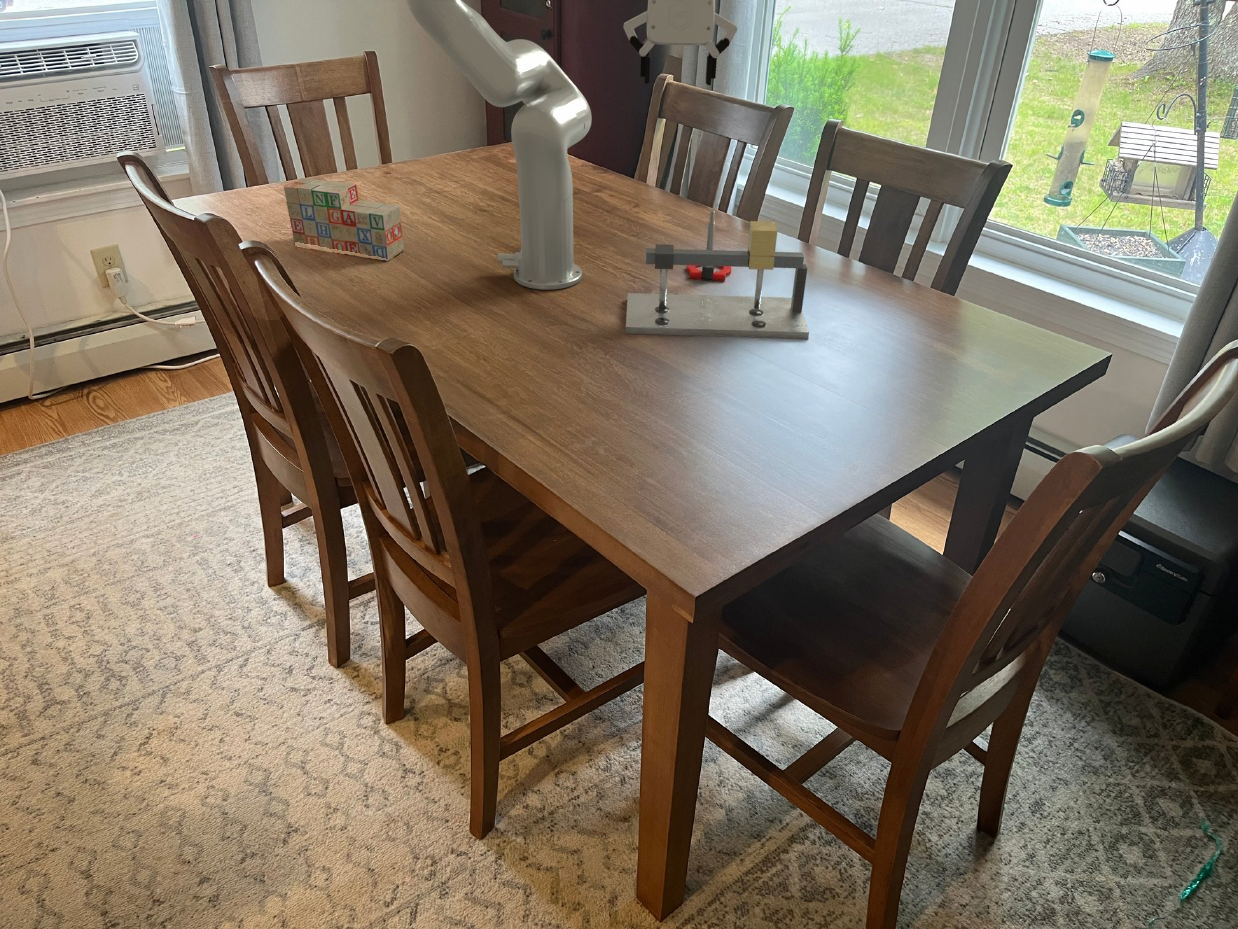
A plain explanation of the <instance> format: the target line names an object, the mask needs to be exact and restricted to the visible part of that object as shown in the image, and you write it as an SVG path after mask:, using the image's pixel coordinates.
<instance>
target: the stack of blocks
mask: <svg viewBox="0 0 1238 929" xmlns="http://www.w3.org/2000/svg"><path fill="white" fill-rule="evenodd" d="M283 190H284V194H285V200H286V206H287V211H288V212H287V213H288V216H289V221H290V225H291V231H292V239H293V242H294V241H295V242H300V243H304V244H311V245H318V246H320V247H327V248H329V249H337V250H342V251H349V252H355V253H360V254H365V255H368V256H378V257H381V258H386V259H389V258H390V257H391V256H393V255H394V254H396V253H398V252H399V251H401V250H402V249H404V250H405V248H404V240H403V228H402V217H401V207H400V205H397V204H391V203H390V204H389V203H383V202H378V201H376V202H375V201H369V200H359V194H358V187H357V184H354V183H349V182H340V181H332V180H330V181H329V180H322V179H315V178H310V177H309V178H308V177H302V178H300V179H297V180H295V181H292V182H291V183H288V184H287V185H285V186H283Z"/></svg>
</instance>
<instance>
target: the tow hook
mask: <svg viewBox="0 0 1238 929" xmlns="http://www.w3.org/2000/svg"><path fill="white" fill-rule="evenodd" d="M709 214H710V215H709V221H708V225H707V234H706V236H707V237H706V249H705V250H714V241H715V240H714V238H715V228H716V227H715V225H716V222H715V214H716V213H715V210H713V209H712V210H710V213H709ZM698 267H700V266H695V265H686V271H687V273H689V279H691V280H692V279H693V280H701V281H709V280H713V281H715V280H716V281H718V282H725V281H726V277H727V276H730V275H731V274H732V267H731V266H716V268H719V269H720V270H718V271H715V266H701V267H702V268H701V269H698Z"/></svg>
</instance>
